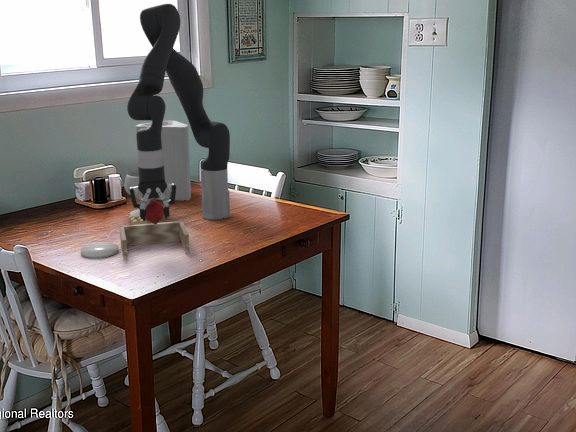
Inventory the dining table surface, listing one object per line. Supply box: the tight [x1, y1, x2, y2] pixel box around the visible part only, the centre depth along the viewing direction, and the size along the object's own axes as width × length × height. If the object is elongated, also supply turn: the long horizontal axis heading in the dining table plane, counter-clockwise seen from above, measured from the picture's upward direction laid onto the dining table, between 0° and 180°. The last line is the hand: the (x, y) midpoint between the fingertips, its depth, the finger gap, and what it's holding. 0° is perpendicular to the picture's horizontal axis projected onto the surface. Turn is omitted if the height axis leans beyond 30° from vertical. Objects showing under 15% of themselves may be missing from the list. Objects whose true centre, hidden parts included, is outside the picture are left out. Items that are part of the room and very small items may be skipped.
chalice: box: [123, 169, 152, 219], centre depth 242 cm, size 14×14×15 cm
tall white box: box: [135, 120, 192, 201], centre depth 266 cm, size 19×15×28 cm
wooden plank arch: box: [119, 220, 191, 261], centre depth 208 cm, size 19×14×6 cm
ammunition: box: [128, 214, 152, 225], centre depth 227 cm, size 5×7×8 cm
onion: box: [145, 198, 165, 224], centre depth 206 cm, size 6×6×8 cm
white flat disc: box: [80, 241, 120, 259], centre depth 207 cm, size 11×11×1 cm
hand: (154, 219), depth 207 cm, fingers closed on onion, 6 cm apart
